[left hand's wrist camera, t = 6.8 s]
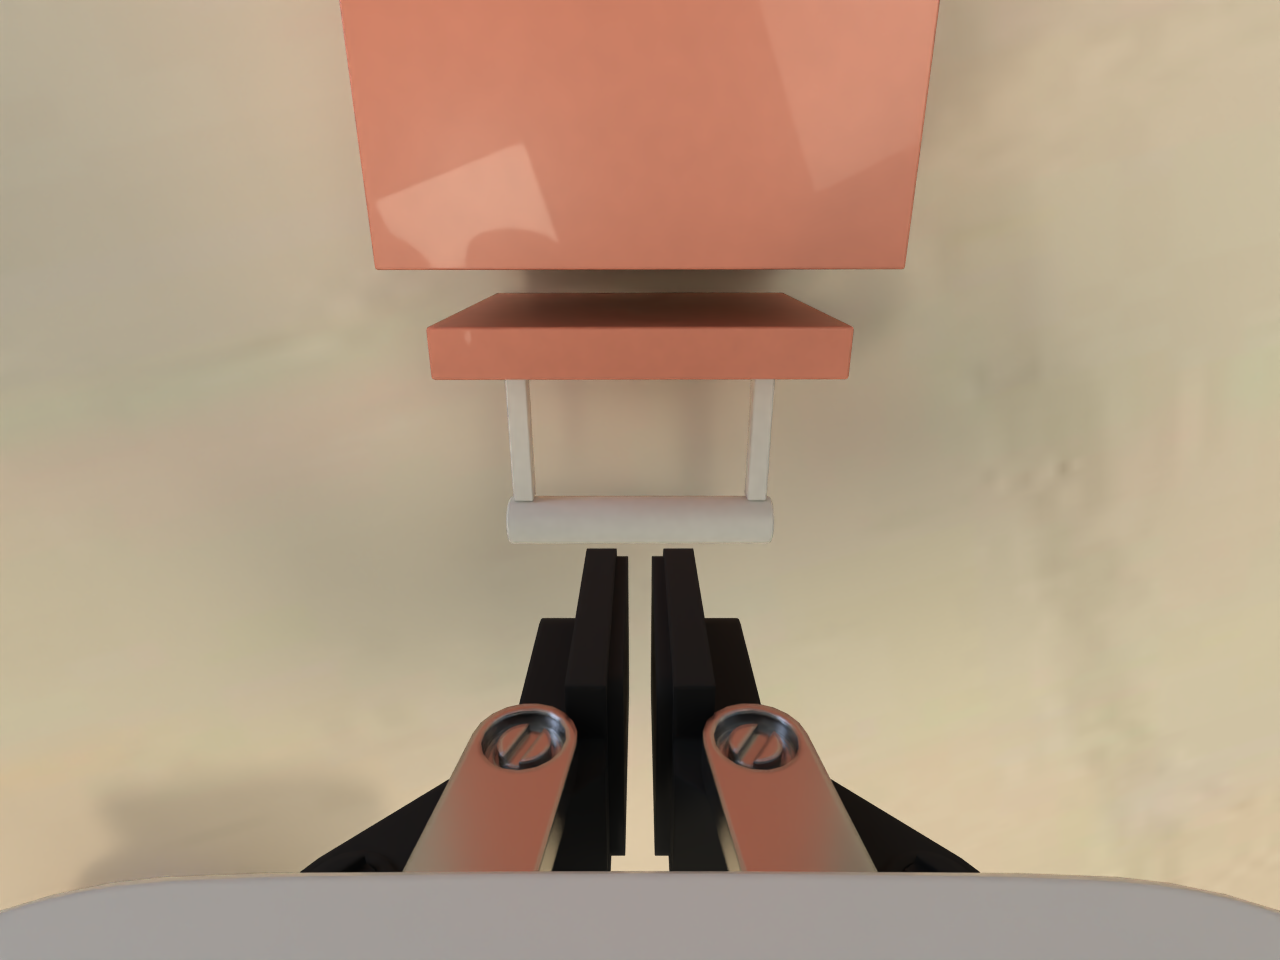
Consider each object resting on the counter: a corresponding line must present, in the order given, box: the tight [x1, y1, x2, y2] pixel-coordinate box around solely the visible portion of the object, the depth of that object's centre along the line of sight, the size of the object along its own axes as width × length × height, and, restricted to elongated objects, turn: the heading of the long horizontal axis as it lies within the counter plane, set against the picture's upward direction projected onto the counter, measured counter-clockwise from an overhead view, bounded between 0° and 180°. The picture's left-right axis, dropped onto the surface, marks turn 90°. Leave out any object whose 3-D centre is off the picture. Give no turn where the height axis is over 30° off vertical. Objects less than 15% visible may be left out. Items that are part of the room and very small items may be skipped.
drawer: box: [426, 293, 854, 544], centre depth 17 cm, size 25×10×8 cm, turn 0°
